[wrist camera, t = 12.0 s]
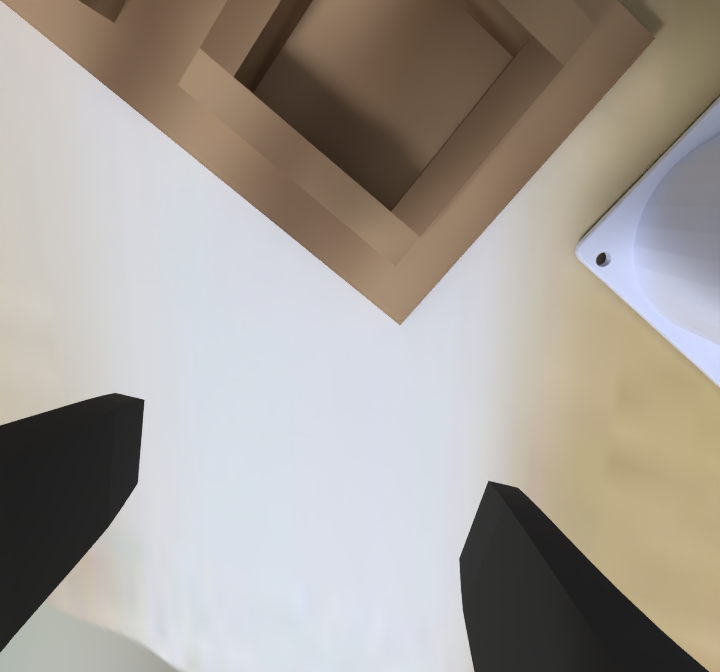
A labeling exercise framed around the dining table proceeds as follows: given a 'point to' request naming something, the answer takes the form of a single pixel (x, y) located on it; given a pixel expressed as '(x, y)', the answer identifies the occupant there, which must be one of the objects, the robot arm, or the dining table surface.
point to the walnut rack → (359, 109)
